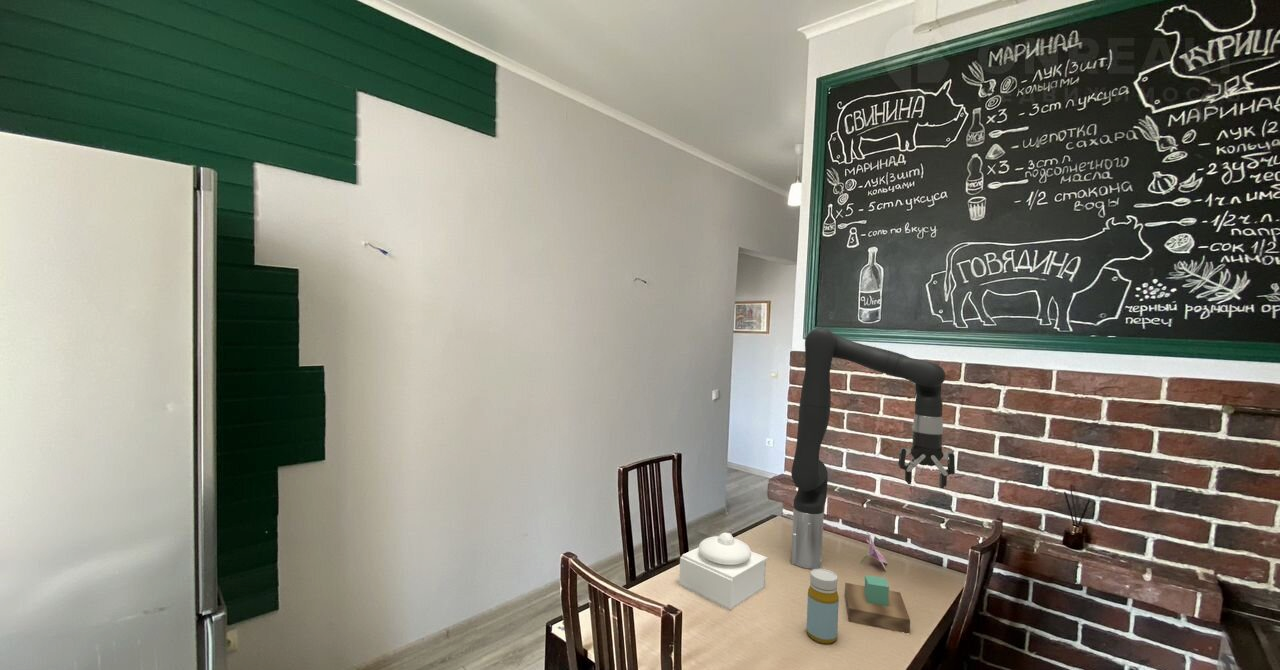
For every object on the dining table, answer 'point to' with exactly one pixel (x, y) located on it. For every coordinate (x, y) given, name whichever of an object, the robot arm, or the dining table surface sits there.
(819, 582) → the bottle
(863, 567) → the dining table surface
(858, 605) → the walnut base
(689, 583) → the butter dish
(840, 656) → the dining table surface
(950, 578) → the dining table surface
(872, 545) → the lily
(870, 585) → the green cube
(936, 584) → the dining table surface
